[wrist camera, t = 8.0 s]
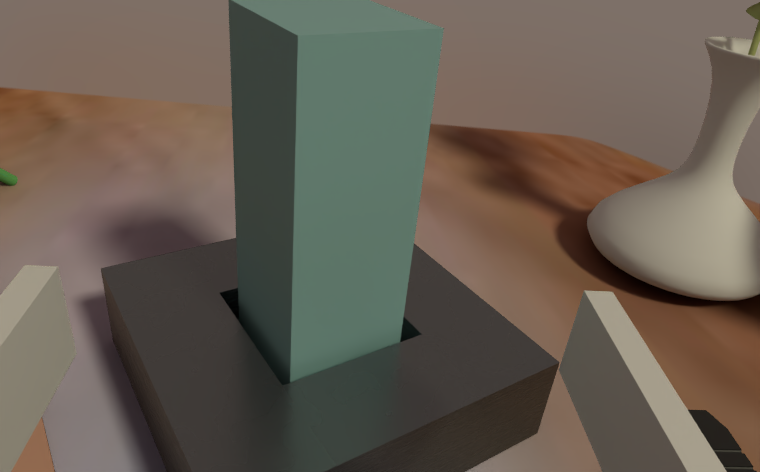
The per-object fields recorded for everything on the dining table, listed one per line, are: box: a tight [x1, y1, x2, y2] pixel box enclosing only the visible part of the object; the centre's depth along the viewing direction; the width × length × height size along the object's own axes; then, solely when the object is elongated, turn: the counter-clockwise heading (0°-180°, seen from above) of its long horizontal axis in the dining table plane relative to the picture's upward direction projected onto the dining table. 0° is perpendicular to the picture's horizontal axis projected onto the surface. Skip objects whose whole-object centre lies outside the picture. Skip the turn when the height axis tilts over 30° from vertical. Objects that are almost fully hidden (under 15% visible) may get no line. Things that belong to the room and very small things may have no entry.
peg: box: [229, 0, 444, 386], centre depth 23 cm, size 5×5×16 cm
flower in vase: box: [587, 2, 760, 301], centre depth 34 cm, size 13×11×25 cm
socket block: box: [101, 238, 559, 472], centre depth 26 cm, size 14×14×4 cm
